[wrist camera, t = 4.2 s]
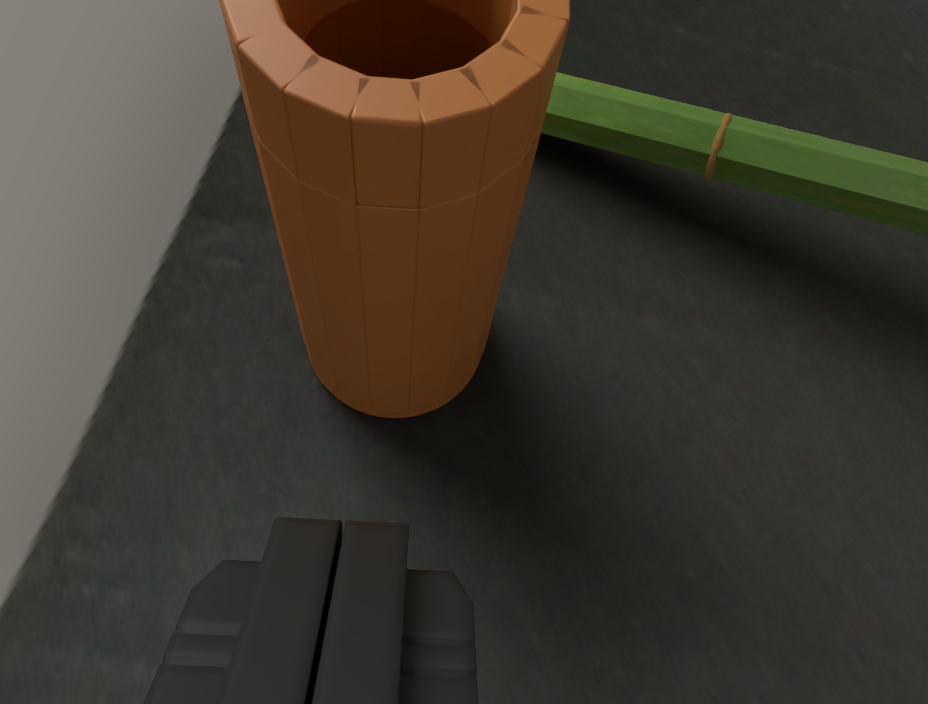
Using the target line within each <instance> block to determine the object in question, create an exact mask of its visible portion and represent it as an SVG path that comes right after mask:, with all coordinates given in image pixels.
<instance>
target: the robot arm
mask: <svg viewBox="0 0 928 704" xmlns="http://www.w3.org/2000/svg"><path fill="white" fill-rule="evenodd" d="M408 536H409V524H399V523H381V522H363V521H346V523H345V528H344V533H343V538H342V521H340V520H322V519H304V518H286V517H277V518H276V519H275V521H274V524H273V527H272V530H271V533H270V536H269V539H268V543H267V546H266V549H265V552H264V555H263V558H262V561H261V562H255V561H236V560H223V561H222V562H221V563H220V564H219V565H218V566H216V567H215V568H214V569H213V570H212V571H211V572H210V573H209V574H208V575H207V576H206V577H205V578H203V579H202V580H201V581H200V582H199V583H198V584H197V585H196V586H195V587H194V588H193V589H192V590H191V592H190V594H189V597H188V599H187V601H186V604H185V606H184V609H183V611H182V613H181V616H180V618H179V620H178V623H177V625H176V632H175V633H173V635H172V637H171V639H170V642H169V644H168V647H167V649H166V651H165V654H164V656H163V663H162V665H160V666H159V668H158V670H157V673H156V675H155V677H154V680H153V682H152V684H151V687H150V689H149V692H148V694H147V696H146V699H145V701H144V703H143V704H478V689H477V679H476V672H477V669H476V648H475V628H474V608H473V602H472V601H471V599H470V597H469V596H468V594H467V593H466V591H465V590H464V588H463V586H462V585H461V583H460V582H459V580H458V579H457V577H456V575H455V574H454V572H451V571H432V570H413V569H406V568H407V552H408Z"/></svg>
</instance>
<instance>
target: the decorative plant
mask: <svg viewBox="0 0 928 704" xmlns="http://www.w3.org/2000/svg"><path fill="white" fill-rule="evenodd" d="M541 133H543V134H547V135H551V136H554V137H558V138H562V139H566V140H569V141H573V142H577V143H581V144H585V145H588V146H592V147H596V148H600V149H603V150H607V151H611V152H615V153H619V154H622V155H626V156H630V157H634V158H637V159H641V160H645V161H649V162H653V163H656V164H660V165H664V166H668V167H671V168H675V169H679V170H683V171H687V172H690V173H694V174H698V175H702V176H705V178H706V180H708V181H710V180H712V179H717V180H721V181H724V182H728V183H732V184H736V185H739V186H743V187H747V188H751V189H755V190H758V191H762V192H766V193H770V194H773V195H777V196H781V197H785V198H788V199H792V200H796V201H800V202H804V203H807V204H811V205H815V206H819V207H822V208H826V209H830V210H834V211H838V212H841V213H845V214H849V215H853V216H856V217H860V218H864V219H868V220H872V221H875V222H879V223H883V224H887V225H890V226H894V227H898V228H902V229H906V230H909V231H913V232H917V233H921V234H924V235H928V162H924V161H920V160H916V159H912V158H907V157H903V156H899V155H895V154H891V153H887V152H883V151H879V150H875V149H870V148H866V147H862V146H858V145H854V144H850V143H846V142H842V141H837V140H833V139H829V138H825V137H821V136H817V135H813V134H809V133H805V132H800V131H796V130H792V129H788V128H784V127H780V126H776V125H772V124H767V123H763V122H759V121H755V120H751V119H747V118H743V117H739V116H735V115H731V114H730V113H727V114H726V113H722V112H718V111H714V110H710V109H706V108H702V107H697V106H693V105H689V104H685V103H681V102H677V101H673V100H669V99H665V98H660V97H656V96H652V95H648V94H644V93H640V92H636V91H632V90H627V89H623V88H619V87H615V86H611V85H607V84H603V83H599V82H595V81H590V80H586V79H582V78H578V77H574V76H570V75H566V74H562V73H558V72H556V76H555V80H554V84H553V88H552V92H551V96H550V99H549V103H548V107H547V111H546V115H545V119H544V123H543V127H542V130H541Z"/></svg>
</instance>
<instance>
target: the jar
mask: <svg viewBox="0 0 928 704" xmlns="http://www.w3.org/2000/svg"><path fill="white" fill-rule="evenodd" d="M220 4H221V9H222V12H223V16H224V21H225V24H226V29H227V33H228V37H229V41H230V45H231V48H232V53H233V57H234V61H235V65H236V69H237V73H238V77H239V81H240V85H241V89H242V93H243V98H244V102H245V106H246V110H247V114H248V118H249V122H250V126H251V130H252V134H253V138H254V142H255V146H256V150H257V154H258V158H259V162H260V166H261V170H262V174H263V178H264V182H265V186H266V190H267V194H268V199H269V203H270V207H271V211H272V215H273V219H274V223H275V227H276V231H277V235H278V239H279V243H280V247H281V251H282V255H283V259H284V263H285V267H286V271H287V275H288V279H289V283H290V287H291V291H292V295H293V299H294V303H295V307H296V311H297V315H298V319H299V323H300V327H301V331H302V335H303V339H304V342H305V345H306V348H307V351H308V355H309V359H310V362H311V364H312V367H313V369H314V371H315V373H316V374H317V376H318V378H319V380H320V381H321V382H322V383H323V385H324V386H325V387H326V388H327V390H328V391H330V392H331V393H332V394H333V395H334V396H335V397H336V398H337V399H339V400H340V401H342V402H343V403H344V404H346V405H348V406H350V407H351V408H353V409H355V410H358V411H360V412H363V413H366V414H369V415H373V416H377V417H385V418H406V417H413V416H417V415H421V414H425V413H428V412H430V411H433V410H435V409H437V408H439V407H441V406H443V405H444V404H446V403H448V402H449V401H450V400H452V399H453V398H454V397H456V396H457V395H458V394H459V393H460V392H461V391H462V390H463V389H464V388H465V386H466V385H467V384H468V382H469V381H470V380H471V378H472V377H473V375H474V373H475V371H476V369H477V367H478V364H479V362H480V359H481V356H482V354H483V352H484V350H485V346H486V342H487V339H488V335H489V331H490V327H491V323H492V319H493V315H494V312H495V308H496V304H497V300H498V296H499V292H500V288H501V285H502V281H503V277H504V273H505V269H506V265H507V261H508V258H509V254H510V250H511V246H512V242H513V238H514V234H515V231H516V227H517V223H518V219H519V215H520V211H521V207H522V204H523V200H524V196H525V192H526V188H527V184H528V181H529V177H530V173H531V169H532V165H533V161H534V157H535V154H536V150H537V146H538V142H539V138H540V134H541V130H542V127H543V123H544V119H545V115H546V111H547V107H548V103H549V99H550V96H551V92H552V88H553V84H554V80H555V76H556V72H557V69H558V65H559V61H560V57H561V53H562V49H563V45H564V42H565V38H566V34H567V30H568V26H569V22H570V0H220Z"/></svg>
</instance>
